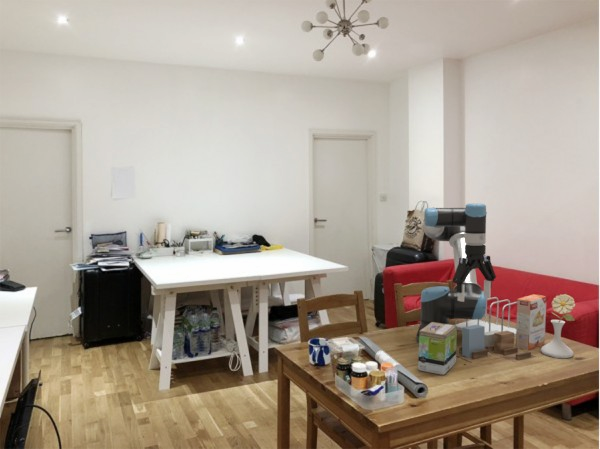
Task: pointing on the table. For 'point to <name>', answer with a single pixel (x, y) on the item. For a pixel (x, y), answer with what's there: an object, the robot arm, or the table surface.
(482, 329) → the panel
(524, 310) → the cracker box
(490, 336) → the offcut grey
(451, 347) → the tea box
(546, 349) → the flower in vase
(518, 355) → the rack
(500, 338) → the offcut brown
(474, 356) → the stand
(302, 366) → the table surface
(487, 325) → the file sorter
